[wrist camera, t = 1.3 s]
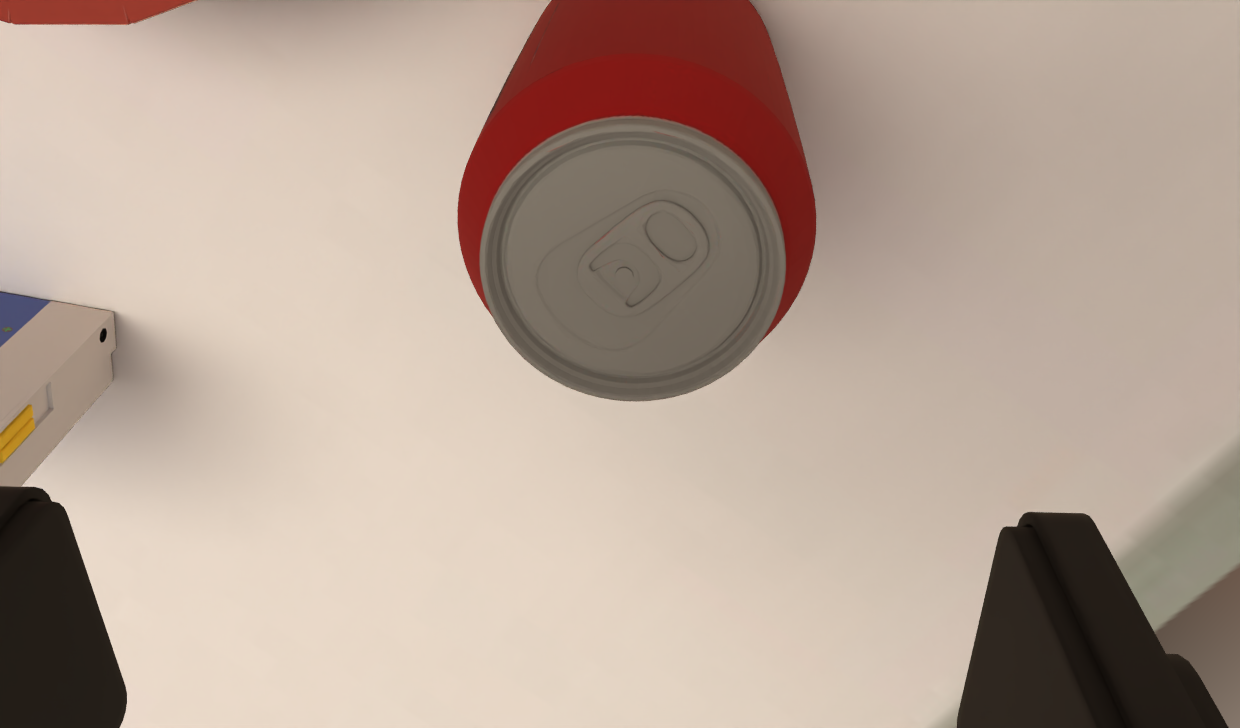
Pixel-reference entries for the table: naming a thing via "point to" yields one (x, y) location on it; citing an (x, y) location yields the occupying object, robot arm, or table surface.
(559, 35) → the beverage can
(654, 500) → the table surface
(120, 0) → the bowl
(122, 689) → the robot arm
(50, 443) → the walkman
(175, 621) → the table surface
